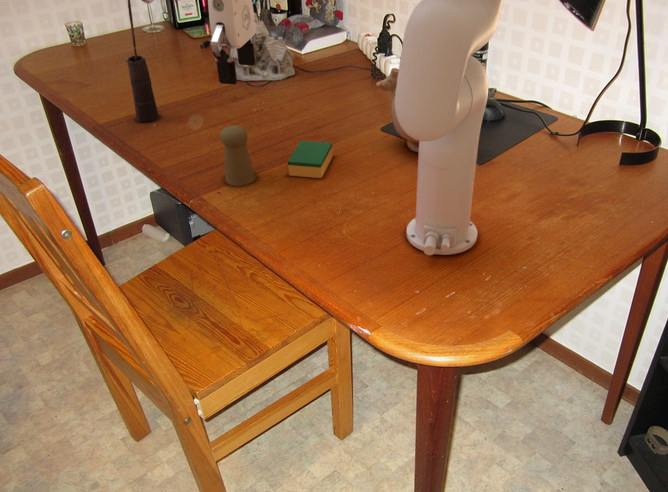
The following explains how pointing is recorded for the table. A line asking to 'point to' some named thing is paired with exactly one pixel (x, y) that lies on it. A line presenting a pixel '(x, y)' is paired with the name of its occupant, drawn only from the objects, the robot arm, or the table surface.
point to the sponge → (310, 159)
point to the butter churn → (141, 83)
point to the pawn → (236, 156)
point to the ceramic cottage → (266, 58)
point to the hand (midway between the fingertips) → (238, 73)
